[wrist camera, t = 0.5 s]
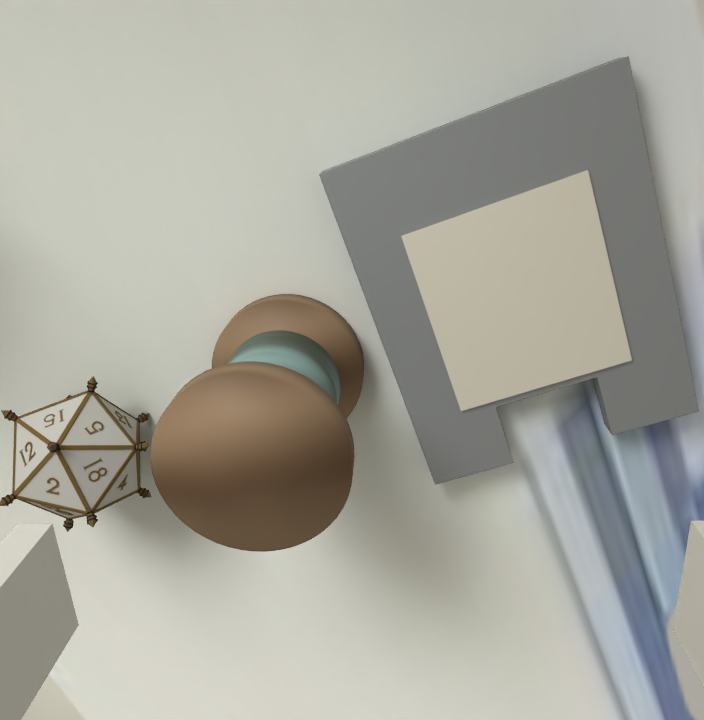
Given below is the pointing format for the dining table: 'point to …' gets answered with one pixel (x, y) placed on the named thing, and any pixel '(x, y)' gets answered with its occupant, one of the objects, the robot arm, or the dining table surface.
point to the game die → (76, 456)
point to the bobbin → (264, 428)
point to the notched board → (518, 266)
